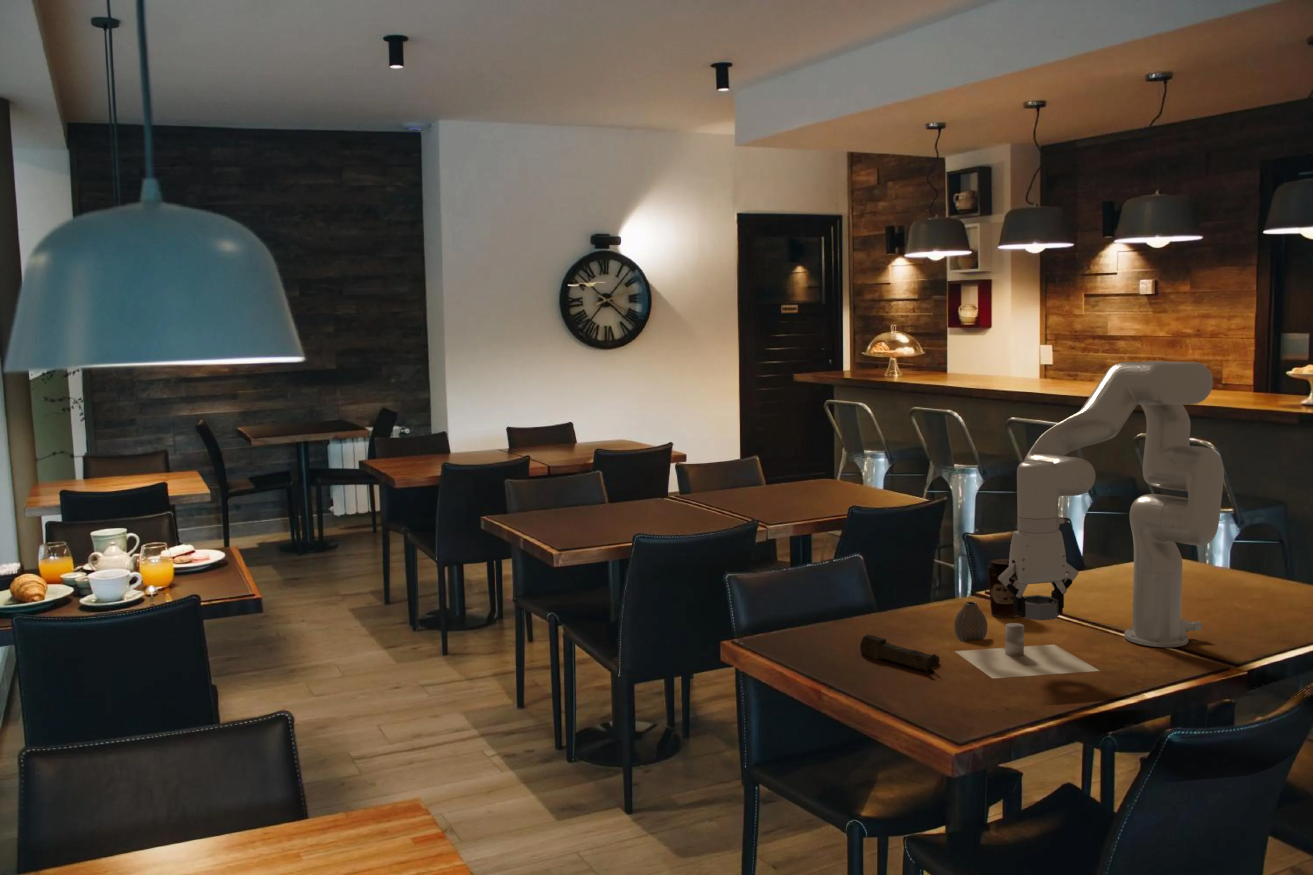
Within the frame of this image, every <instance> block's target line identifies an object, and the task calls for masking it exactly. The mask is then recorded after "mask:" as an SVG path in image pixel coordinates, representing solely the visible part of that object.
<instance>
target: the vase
mask: <svg viewBox="0 0 1313 875" xmlns="http://www.w3.org/2000/svg"><path fill="white" fill-rule="evenodd" d="M953 626H954V628H953V629H954V633H955V635H956V638H957V639H958V641H959V642H971V641H983V640H984V641H985V639H986V636H987V634H988V622H987V618H986V615H985V614H984V613H983V611H982V610H981V609H980V608H979V606H978V603H977V602H975V601H966V602H965V603H964V605H963V606H962V608H961V609H960V610H959V611H958V612H957V614H956V616H955V619H954V625H953Z"/></svg>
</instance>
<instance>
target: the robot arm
mask: <svg viewBox="0 0 1313 875" xmlns="http://www.w3.org/2000/svg"><path fill="white" fill-rule="evenodd" d="M1213 385H1214V379H1213V374H1212V372H1211V370H1210V369H1209V368H1208V367H1207V366H1206V365H1205V364H1204V363H1201V362H1196V361H1163V360H1162V361H1161V360H1154V361H1153V360H1151V361H1148V360H1147V361H1141V362H1138V361H1137V362H1136V361H1129V362H1128V361H1127V362H1126V361H1125V362H1119V363H1116V364H1113V365H1112V366H1111V367H1110V368H1108V370H1107V371H1106V372H1105V373H1104V375H1103V376H1102V378H1101V379H1100V381H1099V382H1098V384H1096V387H1095V388H1094V389H1093V391H1092V393H1091V394H1090V395H1089V397H1088V398H1087V400H1086V401H1085V403H1084V404H1083V406H1082V407H1081V409H1080V410H1079V411H1077V412H1076V413H1074V414H1073V415H1071V416H1069V417H1067V418H1065V419H1063V420H1062V421H1060V422H1058V423H1056V424H1055V425H1053V426H1052V427H1050V428H1049V429H1048V430H1046V431H1045V432H1044V433H1042V434H1041V435H1040V436H1039V437H1038V438H1037V440H1036V441H1035V442H1034V444H1033V445H1032V447H1031V448H1030V449H1029V451H1028V453H1027V454H1026V456H1025V457H1024V460H1023V461H1022V462H1020V463H1019V464H1018V466H1017V468H1016V485H1017V486H1016V496H1017V498H1016V499H1017V500H1016V502H1017V505H1016V506H1017V508H1016V510H1017V520H1016V522H1017V530H1015V531H1013V532H1012V536H1011V541H1010V549H1009V558H1008V559H1009V567H1008V568H1007V569H1006V570H1005V571H1004V572H1003V573H1002V574H1001V575H1000V576H999V577H998V580H999V581H1000V582H1001V583H1002V584H1003V585H1004V586H1005V588H1006V589H1007V590H1008V591H1009V592H1010V593H1011V594H1012V595H1013V610H1014V612H1015V614H1016V615H1018V616H1017V617H1019V618H1024V617H1025V598H1024V597H1023V596H1024V593H1025V591H1026V590H1027V587H1028V585H1038V584H1039V585H1040V584H1048V583H1051V586H1052V587H1053V590H1051V596H1050V597H1053V598H1055V599H1057V600H1059V615H1063V610H1064V607H1065V604H1064V603H1065V594H1067V591H1068V588H1069V587H1071V585H1072V584H1073V582H1074V580H1075V579H1076V578H1077V576H1078V575H1079V571H1078V570H1077V569H1076V568H1074V567H1073V566H1072V565H1070V564H1069V563H1068V562H1067V557H1066V556H1067V555H1066V548H1065V542H1064V537H1063V534H1062V530H1060V525H1063V524H1065V518H1064V516H1060V515H1059V498H1060V497H1066V496H1067V497H1077V496H1081V495H1084V494H1086V493H1088V492H1089V491H1090V490H1091V489H1092V487H1093V486H1094V485H1095V482H1096V471H1095V468H1094V467H1093V464H1091V463H1090V461H1088V460H1085V459H1083V458H1082V457H1081V458H1080V457H1075V456H1066V455H1068V454H1069V453H1071V452H1073V451H1076V450H1078V449H1081V448H1084V447H1087V446H1092V445H1093V446H1094V445H1096V444H1100V443H1102V442H1105V441H1108V440H1112V439H1113V438H1116V436H1117V435H1118V434H1119V433H1120V431H1121V429H1122V428H1123V427H1124V425H1125V423H1126V422H1127V420H1128V419H1129V417H1131V414H1132V413H1133V411H1134V410H1135V409H1136V407H1137V406H1139V405H1140V406H1141V409H1142V410H1143V413H1144V416H1145V419H1146V420H1145V421H1146V432H1145V440H1144V441H1145V442H1144V451H1143V460H1142V477H1143V480H1144V482H1145V483H1146V484H1148V485H1150V486H1152V487H1155V488H1160V489H1167V490H1174V491H1182V492H1187V497H1183V496H1182V497H1181V496H1176V495H1175V496H1174V495H1167V494H1159V493H1149V494H1147V493H1146V494H1144V495H1140V496H1139V497H1137V498H1136V499H1134V501H1133V502H1132V504H1131V506H1130V510H1129V524H1130V528H1131V533H1132V540H1133V543H1132V544H1133V580H1132V581H1133V583H1132V584H1133V587H1132V588H1133V589H1132V590H1133V591H1132V594H1133V595H1132V627H1130V628H1128V629H1126V630H1125V631H1124V638H1125V639H1126V640H1127V641H1129V642H1130V643H1134V644H1138V645H1141V646H1147V647H1154V648H1178V647H1184V646H1186V645H1187V644H1188V643H1189V637H1190V636H1188V635H1187V634H1186V633H1189V631H1191V632H1192V631H1193V632H1195V631H1196V632H1197V631H1202V630H1203V624H1202V622H1201V621H1200V620H1198V621H1197V620H1196V621H1189V620H1188V619H1182V593H1183V592H1182V590H1183V589H1182V588H1183V558H1182V555H1181V552H1180V549H1179V548H1178V545H1177V544H1176V543H1178V544H1184V545H1190V546H1206V545H1208V544H1210V543H1211V542H1212V541H1213V540H1214V539H1215V537H1216V535H1217V533H1218V528H1219V523H1220V517H1221V508H1222V506H1221V505H1222V500H1223V499H1222V498H1223V492H1224V491H1223V490H1224V489H1223V488H1224V480H1225V468H1224V464H1223V460H1222V458H1221V456H1220V454H1219V453H1218V452H1216V451H1215V450H1213V449H1211V448H1209V447H1205V446H1195V445H1191V444H1190V443H1191V442H1190V441H1191V440H1190V438H1191V437H1190V436H1191V418H1190V416H1189V413H1188V411H1187V409H1186V407H1185V406H1184V405H1196V404H1199V403H1202V402H1203V401H1205V400H1206V399H1208V397H1209V395H1210V394H1211V392H1212V390H1213ZM1009 578H1011V579H1013V580H1015V582H1014V584H1013V585H1012V584H1011V583H1010V581H1009ZM1024 619H1025V618H1024Z"/></svg>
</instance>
